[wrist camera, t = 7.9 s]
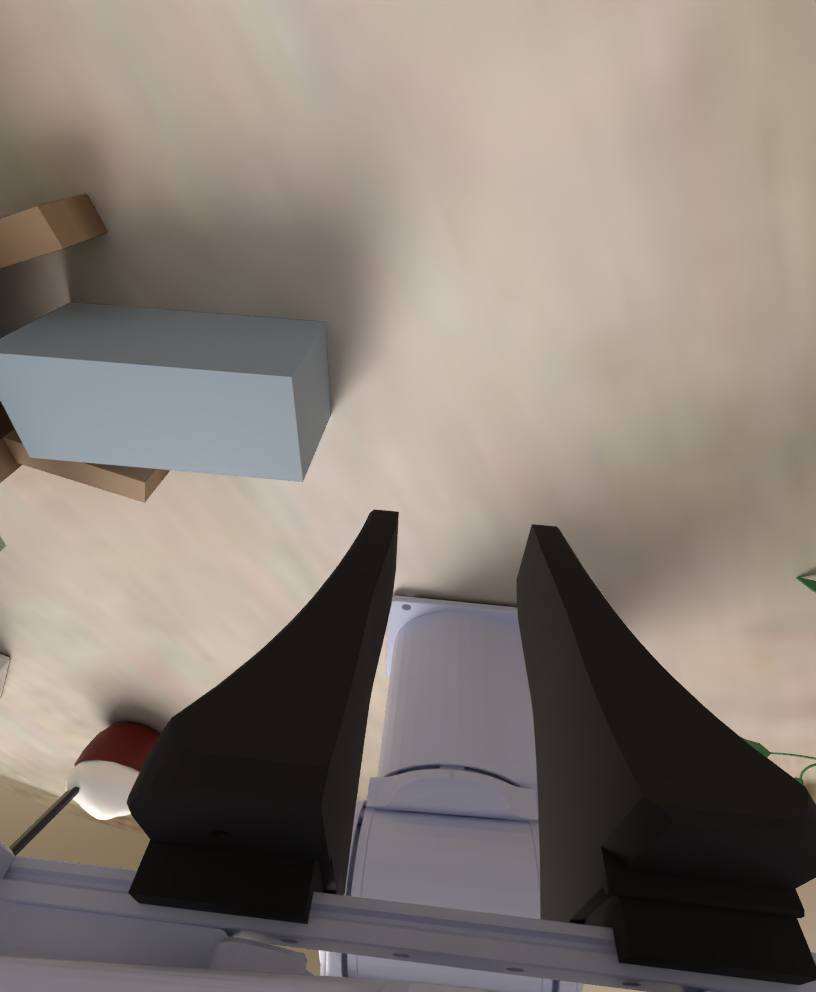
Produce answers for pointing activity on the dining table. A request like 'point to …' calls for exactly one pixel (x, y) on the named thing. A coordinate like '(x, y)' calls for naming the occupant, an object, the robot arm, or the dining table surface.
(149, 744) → the cocoa
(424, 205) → the dining table surface
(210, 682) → the dining table surface
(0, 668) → the small box
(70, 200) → the awning socket
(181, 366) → the peg
